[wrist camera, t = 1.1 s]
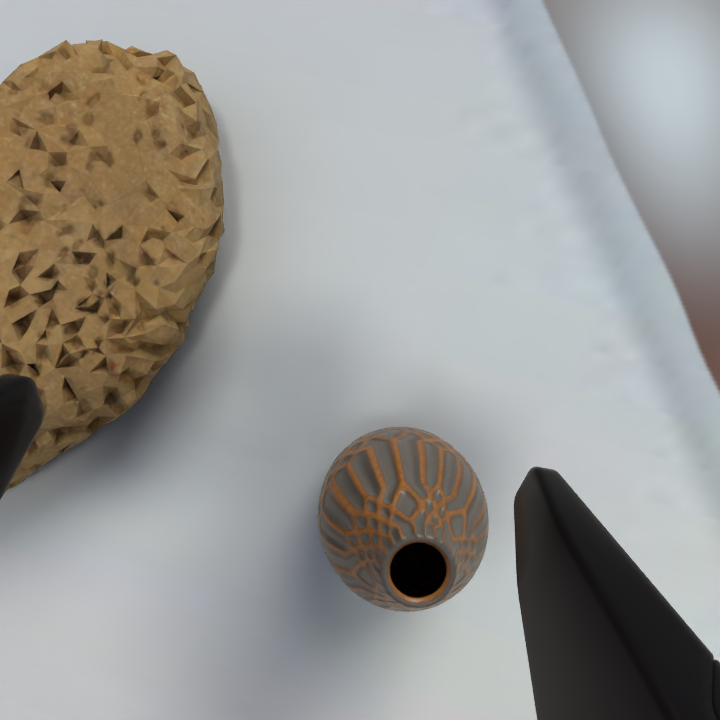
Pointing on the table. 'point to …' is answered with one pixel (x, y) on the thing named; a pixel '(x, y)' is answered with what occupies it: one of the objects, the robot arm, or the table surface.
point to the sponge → (101, 229)
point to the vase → (403, 519)
